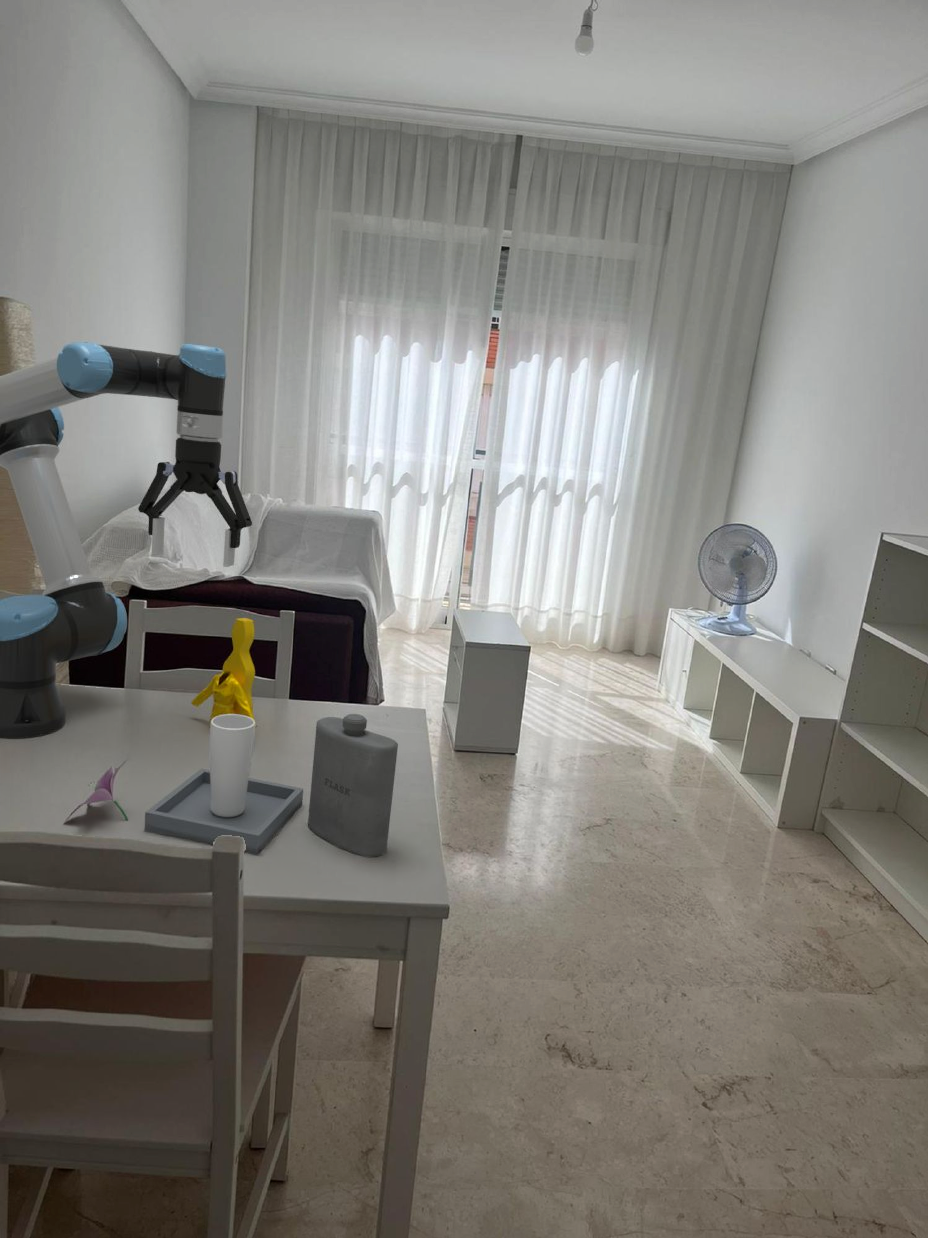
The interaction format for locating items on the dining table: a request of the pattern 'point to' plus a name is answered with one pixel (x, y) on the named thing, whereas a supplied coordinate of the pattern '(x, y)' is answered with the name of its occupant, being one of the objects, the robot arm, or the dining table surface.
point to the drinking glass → (230, 762)
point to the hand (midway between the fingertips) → (192, 560)
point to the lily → (103, 790)
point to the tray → (194, 820)
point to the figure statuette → (233, 676)
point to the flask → (352, 785)
